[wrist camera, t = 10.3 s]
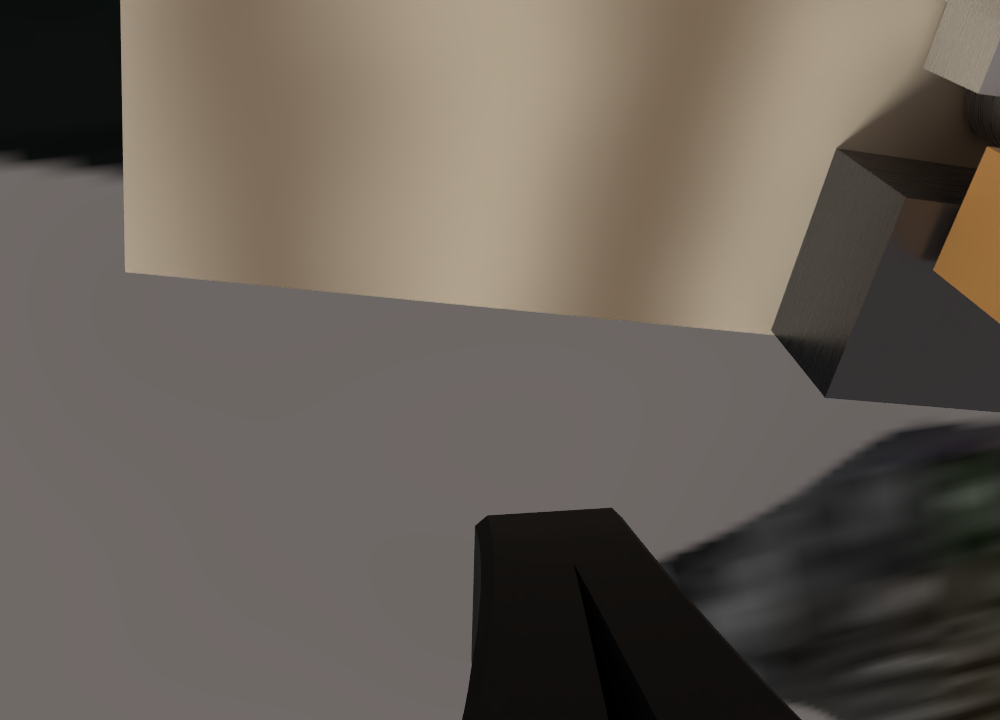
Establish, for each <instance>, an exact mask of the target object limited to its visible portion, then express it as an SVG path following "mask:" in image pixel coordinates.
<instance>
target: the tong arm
mask: <svg viewBox="0 0 1000 720" xmlns="http://www.w3.org/2000/svg"><path fill="white" fill-rule="evenodd" d="M942 1H945V2H947V4H946V7H945V10H944V12H943V15H942V18H941V20H940V23H939V26H938V29H937V31H936V34H935V37H934V40H933V42H932V45H931V48H930V51H929V53H928V56H927V59H926V62H925V64H924V67H923V68H924V69H926V70H928V71H930V72H932V73H934V74H937V75H939V76H941V77H943V78H945V79H947V80H950V81H952V82H954V83H956V84H958V85H960V86H963V87H965V88H966V92H965V96H964V113H965V118H966V121H967V124H968V126H969V128H970V129H971V131H972V132H973V133H974V135H976V136H977V137H978V138H979V139H981V140H982V141H984V142H986V143H988V144H990V145H992V146H994V147H995V148H1000V0H942Z"/></svg>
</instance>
